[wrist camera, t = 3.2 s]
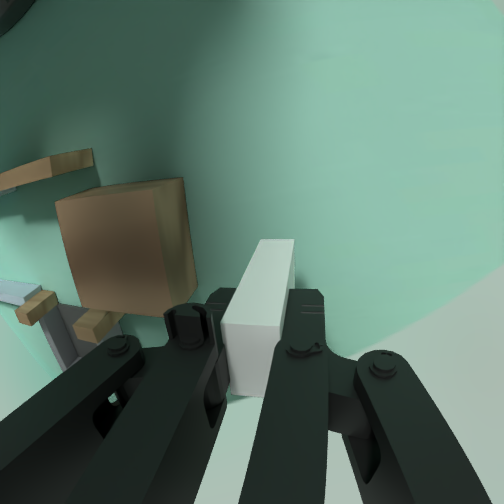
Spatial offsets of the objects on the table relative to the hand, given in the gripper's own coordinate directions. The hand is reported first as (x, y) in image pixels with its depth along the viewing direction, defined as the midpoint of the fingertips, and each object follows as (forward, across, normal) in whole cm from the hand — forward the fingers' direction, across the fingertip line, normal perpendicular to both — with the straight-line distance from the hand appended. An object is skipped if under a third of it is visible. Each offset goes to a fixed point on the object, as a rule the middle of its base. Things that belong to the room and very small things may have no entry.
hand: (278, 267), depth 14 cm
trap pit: (+4, -17, -9) cm, 20 cm away
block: (+4, -9, 0) cm, 10 cm away
